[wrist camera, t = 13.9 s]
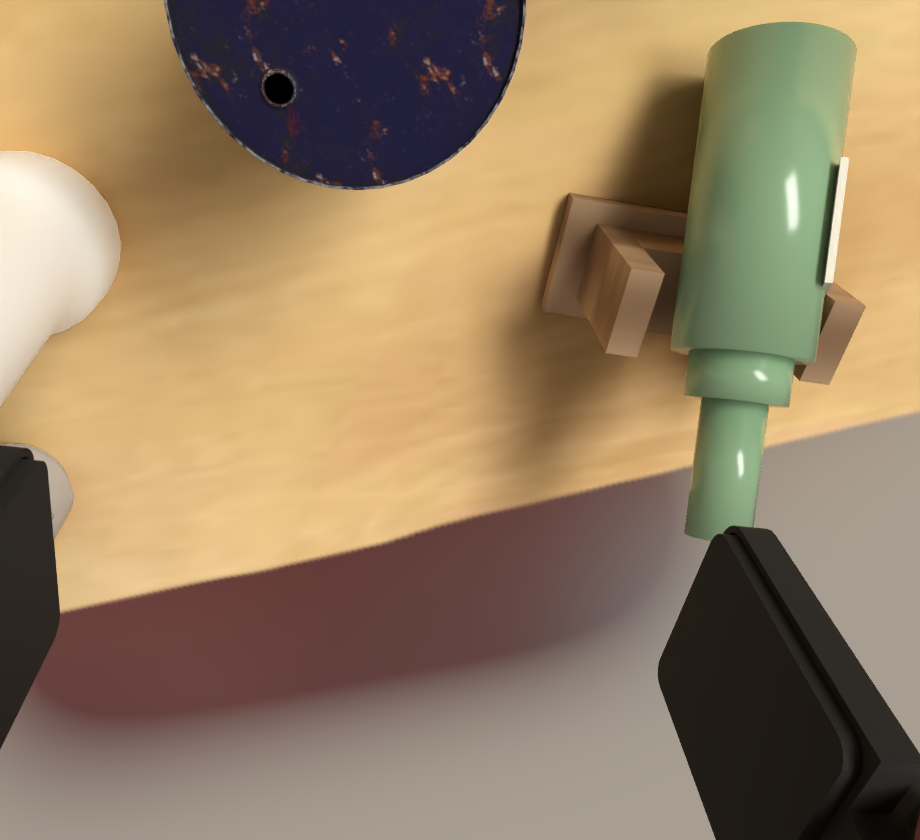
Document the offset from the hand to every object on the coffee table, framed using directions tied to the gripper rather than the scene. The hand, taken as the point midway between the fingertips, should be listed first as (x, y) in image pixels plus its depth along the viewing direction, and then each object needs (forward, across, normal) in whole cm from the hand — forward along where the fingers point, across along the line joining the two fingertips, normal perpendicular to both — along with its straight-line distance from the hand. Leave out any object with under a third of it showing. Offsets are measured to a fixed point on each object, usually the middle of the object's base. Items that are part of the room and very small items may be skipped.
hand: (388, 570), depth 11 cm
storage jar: (+31, +2, -6) cm, 31 cm away
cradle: (+30, -16, +4) cm, 34 cm away
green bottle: (+28, -16, -7) cm, 33 cm away
